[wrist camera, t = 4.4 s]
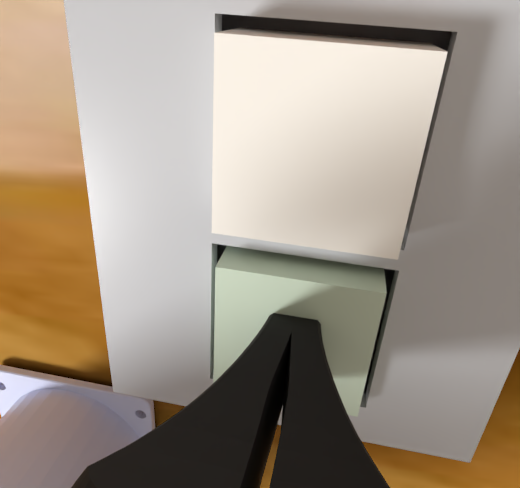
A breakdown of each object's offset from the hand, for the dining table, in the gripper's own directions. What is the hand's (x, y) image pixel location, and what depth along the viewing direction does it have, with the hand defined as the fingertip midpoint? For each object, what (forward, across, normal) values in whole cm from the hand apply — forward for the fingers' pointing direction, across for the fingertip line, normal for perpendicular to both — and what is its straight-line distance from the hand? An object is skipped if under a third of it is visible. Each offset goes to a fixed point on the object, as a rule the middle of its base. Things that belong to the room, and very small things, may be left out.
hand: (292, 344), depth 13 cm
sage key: (+2, 0, 0) cm, 2 cm away
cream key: (+2, 0, -6) cm, 6 cm away
